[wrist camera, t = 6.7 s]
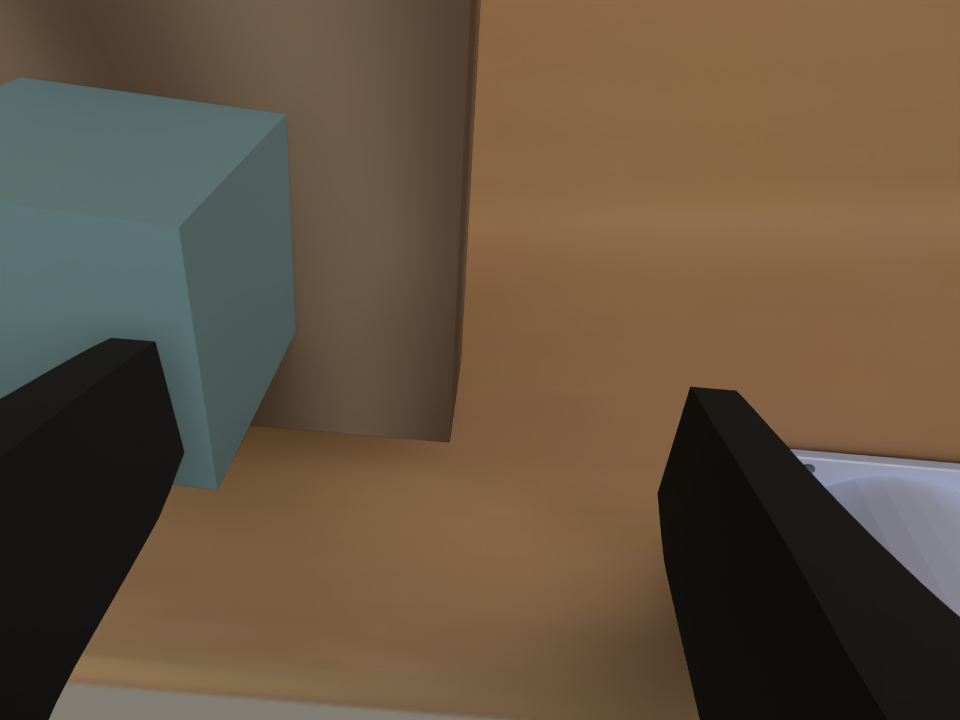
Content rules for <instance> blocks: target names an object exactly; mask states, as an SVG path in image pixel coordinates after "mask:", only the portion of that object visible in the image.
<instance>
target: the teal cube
mask: <svg viewBox="0 0 960 720" xmlns="http://www.w3.org/2000/svg"><path fill="white" fill-rule="evenodd" d="M295 332H296V325H295V302H294V279H293V256H292V234H291V211H290V188H289V165H288V143H287V120H286V114H282V113H275V112H267V111H260V110H253V109H246V108H239V107H232V106H224V105H217V104H210V103H203V102H196V101H188V100H181V99H174V98H167V97H160V96H153V95H145V94H138V93H131V92H124V91H117V90H109V89H102V88H95V87H88V86H81V85H73V84H66V83H59V82H52V81H45V80H38V79H30V78H23V77H20V78H18V79H16V80H13V81H11V82H9V83H6V84H4V85H2V86H0V399H1V398H2V397H4V396H6V395H8V394H9V393H11V392H13V391H15V390H16V389H18V388H20V387H22V386H23V385H25V384H27V383H29V382H30V381H32V380H34V379H35V378H37V377H39V376H41V375H42V374H44V373H46V372H48V371H49V370H51V369H53V368H55V367H56V366H58V365H60V364H62V363H63V362H65V361H67V360H69V359H71V358H72V357H74V356H76V355H78V354H80V353H82V352H83V351H85V350H87V349H89V348H91V347H93V346H95V345H97V344H99V343H101V342H103V341H105V340H107V339H109V338H121V339H133V340H144V341H155V342H156V345H157V349H158V353H159V357H160V361H161V364H162V368H163V372H164V376H165V380H166V383H167V387H168V391H169V395H170V399H171V402H172V406H173V410H174V414H175V418H176V421H177V425H178V429H179V433H180V437H181V440H182V444H183V448H184V452H185V453H184V455H183V458H182V461H181V463H180V466H179V469H178V471H177V474H176V477H175V479H174V482H173V485H180V486H188V487H196V488H204V489H212V490H218V488H219V486H220V484H221V482H222V480H223V478H224V476H225V474H226V472H227V470H228V468H229V466H230V464H231V462H232V460H233V458H234V456H235V454H236V452H237V450H238V448H239V446H240V444H241V442H242V440H243V437H244V435H245V433H246V431H247V429H248V427H249V425H250V423H251V421H252V419H253V417H254V415H255V413H256V411H257V409H258V407H259V405H260V403H261V401H262V399H263V397H264V395H265V393H266V391H267V389H268V387H269V385H270V383H271V381H272V379H273V377H274V375H275V373H276V371H277V369H278V367H279V364H280V362H281V360H282V358H283V356H284V354H285V352H286V350H287V348H288V346H289V344H290V342H291V340H292V338H293V336H294V334H295Z"/></svg>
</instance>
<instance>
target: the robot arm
mask: <svg viewBox="0 0 960 720" xmlns="http://www.w3.org/2000/svg"><path fill="white" fill-rule="evenodd" d="M184 453H185V452H184V448H183V444H182V440H181V437H180V433H179V429H178V425H177V421H176V418H175V414H174V410H173V406H172V402H171V399H170V395H169V391H168V387H167V383H166V380H165V376H164V372H163V368H162V364H161V361H160V357H159V353H158V349H157V345H156V342H155V341H144V340H133V339H121V338H109V339H107V340H105V341H103V342H101V343H99V344H97V345H95V346H93V347H91V348H89V349H87V350H85V351H83V352H82V353H80V354H78V355H76V356H74V357H72V358H71V359H69V360H67V361H65V362H63V363H62V364H60V365H58V366H56V367H55V368H53V369H51V370H49V371H48V372H46V373H44V374H42V375H41V376H39V377H37V378H35V379H34V380H32V381H30V382H29V383H27V384H25V385H23V386H22V387H20V388H18V389H16V390H15V391H13V392H11V393H9V394H8V395H6V396H4V397H2V398H1V399H0V720H49V718H50V715H51V713H52V711H53V709H54V706H55V704H56V702H57V700H58V698H59V696H60V694H61V692H62V690H63V688H64V687H65V685H66V683H67V681H68V679H69V677H70V675H71V673H72V671H73V669H74V667H75V665H76V664H77V662H78V660H79V658H80V657H81V655H82V653H83V651H84V650H85V648H86V646H87V644H88V643H89V641H90V639H91V637H92V636H93V634H94V632H95V630H96V629H97V627H98V625H99V623H100V621H101V620H102V618H103V616H104V614H105V613H106V611H107V609H108V607H109V606H110V604H111V602H112V600H113V599H114V597H115V595H116V593H117V592H118V590H119V588H120V586H121V585H122V583H123V581H124V579H125V578H126V576H127V574H128V572H129V571H130V569H131V567H132V565H133V564H134V562H135V560H136V558H137V556H138V555H139V553H140V551H141V549H142V547H143V546H144V544H145V542H146V540H147V538H148V537H149V535H150V533H151V531H152V529H153V527H154V526H155V524H156V522H157V520H158V518H159V516H160V514H161V511H162V509H163V507H164V504H165V502H166V499H167V497H168V495H169V492H170V490H171V487H172V485H173V482H174V479H175V477H176V474H177V471H178V469H179V466H180V463H181V461H182V458H183V455H184ZM804 464H808V465H806V466H805V465H804ZM658 503H659V515H660V527H661V537H662V546H663V555H664V563H665V568H666V572H667V577H668V582H669V586H670V591H671V595H672V600H673V604H674V609H675V613H676V618H677V622H678V626H679V631H680V635H681V639H682V644H683V648H684V653H685V657H686V661H687V666H688V670H689V674H690V679H691V683H692V687H693V692H694V696H695V701H696V705H697V709H698V714H699V718H700V720H960V464H958V463H947V462H935V461H923V460H912V459H900V458H888V457H877V456H865V455H853V454H842V453H830V452H818V451H807V450H795V449H789V448H788V447H787V446H786V444H785V443H784V442H783V441H782V440H781V439H780V438H779V437H778V436H777V434H776V433H775V432H774V431H773V430H772V429H771V428H770V427H769V426H768V424H767V423H766V422H765V421H764V420H763V419H762V418H761V417H760V416H759V414H758V413H757V412H756V411H755V410H754V409H753V408H752V407H751V406H750V405H749V404H748V402H747V401H746V400H745V399H744V398H743V397H742V396H741V395H740V394H739V393H738V392H737V391H734V390H722V389H710V388H698V387H690V390H689V393H688V396H687V399H686V403H685V406H684V409H683V412H682V416H681V419H680V422H679V425H678V429H677V432H676V435H675V439H674V442H673V445H672V448H671V452H670V455H669V458H668V461H667V465H666V468H665V471H664V474H663V478H662V481H661V484H660V487H659V491H658Z"/></svg>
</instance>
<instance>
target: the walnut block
mask: <svg viewBox="0 0 960 720" xmlns="http://www.w3.org/2000/svg"><path fill="white" fill-rule="evenodd" d="M480 4H481V0H0V86H2V85H4V84H6V83H9V82H11V81H13V80H16V79H18V78H20V77H23V78H30V79H38V80H45V81H52V82H59V83H66V84H73V85H81V86H88V87H95V88H102V89H109V90H117V91H124V92H131V93H138V94H145V95H153V96H160V97H167V98H174V99H181V100H188V101H196V102H203V103H210V104H217V105H224V106H232V107H239V108H246V109H253V110H260V111H267V112H275V113H282V114H286V120H287V143H288V165H289V188H290V211H291V234H292V256H293V279H294V302H295V325H296V332H295V334H294V336H293V338H292V340H291V342H290V344H289V346H288V348H287V350H286V352H285V354H284V356H283V358H282V360H281V362H280V364H279V367H278V369H277V371H276V373H275V375H274V377H273V379H272V381H271V383H270V385H269V387H268V389H267V391H266V393H265V395H264V397H263V399H262V401H261V403H260V405H259V407H258V409H257V411H256V413H255V415H254V417H253V419H252V421H251V423H250V425H251V426H263V427H275V428H286V429H298V430H310V431H321V432H333V433H345V434H356V435H368V436H380V437H391V438H403V439H415V440H426V441H438V442H450V437H451V430H452V422H453V415H454V408H455V401H456V393H457V386H458V379H459V372H460V365H461V351H462V332H463V314H464V296H465V278H466V259H467V241H468V223H469V205H470V187H471V168H472V150H473V132H474V114H475V95H476V77H477V59H478V41H479V23H480Z"/></svg>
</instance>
